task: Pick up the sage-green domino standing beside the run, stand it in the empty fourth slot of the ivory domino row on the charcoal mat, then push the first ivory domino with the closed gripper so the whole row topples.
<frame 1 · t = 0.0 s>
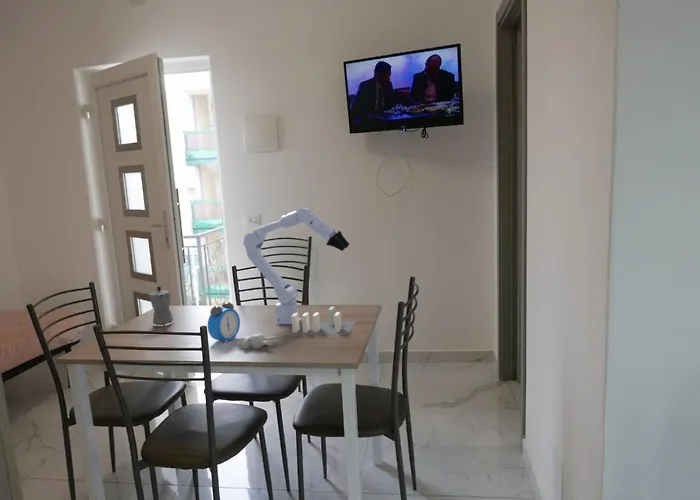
hand: (346, 247, 232), 32 cm above the table, tool tilted 50°, fingers open, 7 cm apart
domino 1: (296, 330, 227), resting on mat
domino 3: (317, 330, 225), resting on mat
mat: (321, 328, 229), on the table
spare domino: (332, 324, 233), resting on mat
bunny figurine: (257, 348, 211), on the table
coffeepot: (163, 324, 255), on the table
domino 5: (338, 330, 224), resting on mat
domino 2: (306, 330, 226), resting on mat
alarm clock: (225, 340, 223), on the table
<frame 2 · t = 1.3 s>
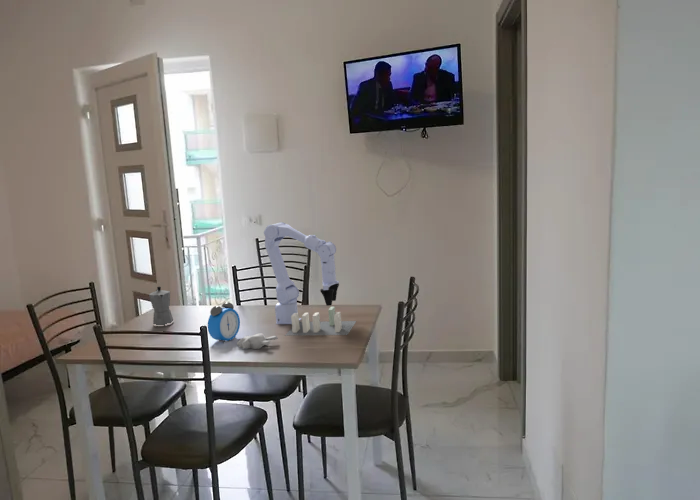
hand: (331, 302, 232), 10 cm above the table, tool pointing down, fingers open, 7 cm apart
nothing on the table moved.
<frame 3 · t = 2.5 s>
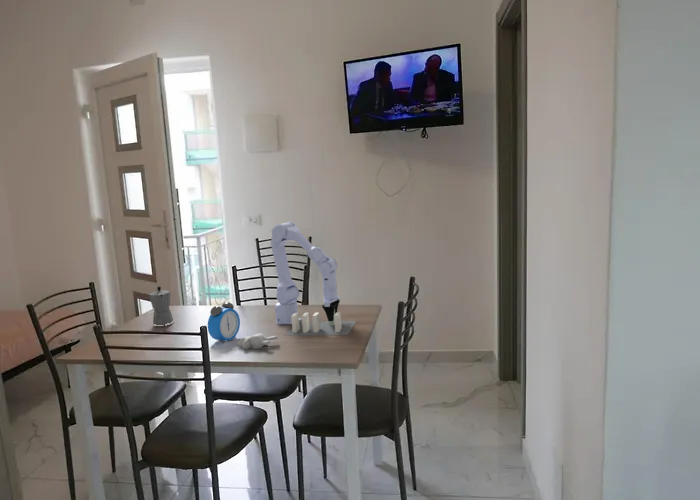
hand: (332, 319, 233), 3 cm above the table, tool pointing down, fingers closed on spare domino, 5 cm apart
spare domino: (332, 324, 233), resting on mat, touching gripper
everything else where it was.
when the fingers open (3 cm above the table, at t = 6.6 s): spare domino moves 1 cm and tips over, resting on domino 3, domino 5, mat.
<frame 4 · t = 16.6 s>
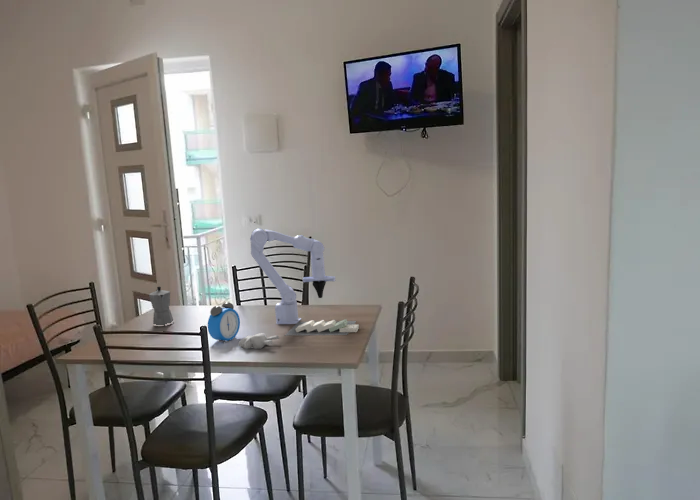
hand: (320, 297, 244), 9 cm above the table, tool pointing down, fingers closed
domino 1: (297, 329, 227), point 1 cm above the table, tilted 69°, touching domino 2, mat
domino 3: (319, 328, 225), point 1 cm above the table, tilted 70°, touching domino 2, mat, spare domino
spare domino: (330, 328, 224), point 1 cm above the table, tilted 68°, touching domino 3, domino 5, mat
domino 5: (340, 328, 223), point 1 cm above the table, tilted 90°, touching mat, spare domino
domino 2: (308, 328, 226), point 1 cm above the table, tilted 69°, touching domino 1, domino 3, mat
everything else where it was.
at the end: domino 5 tilted 90°; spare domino tilted 68°; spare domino inside the target area (0.7 cm from its centre), point 1.1 cm above the table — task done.
